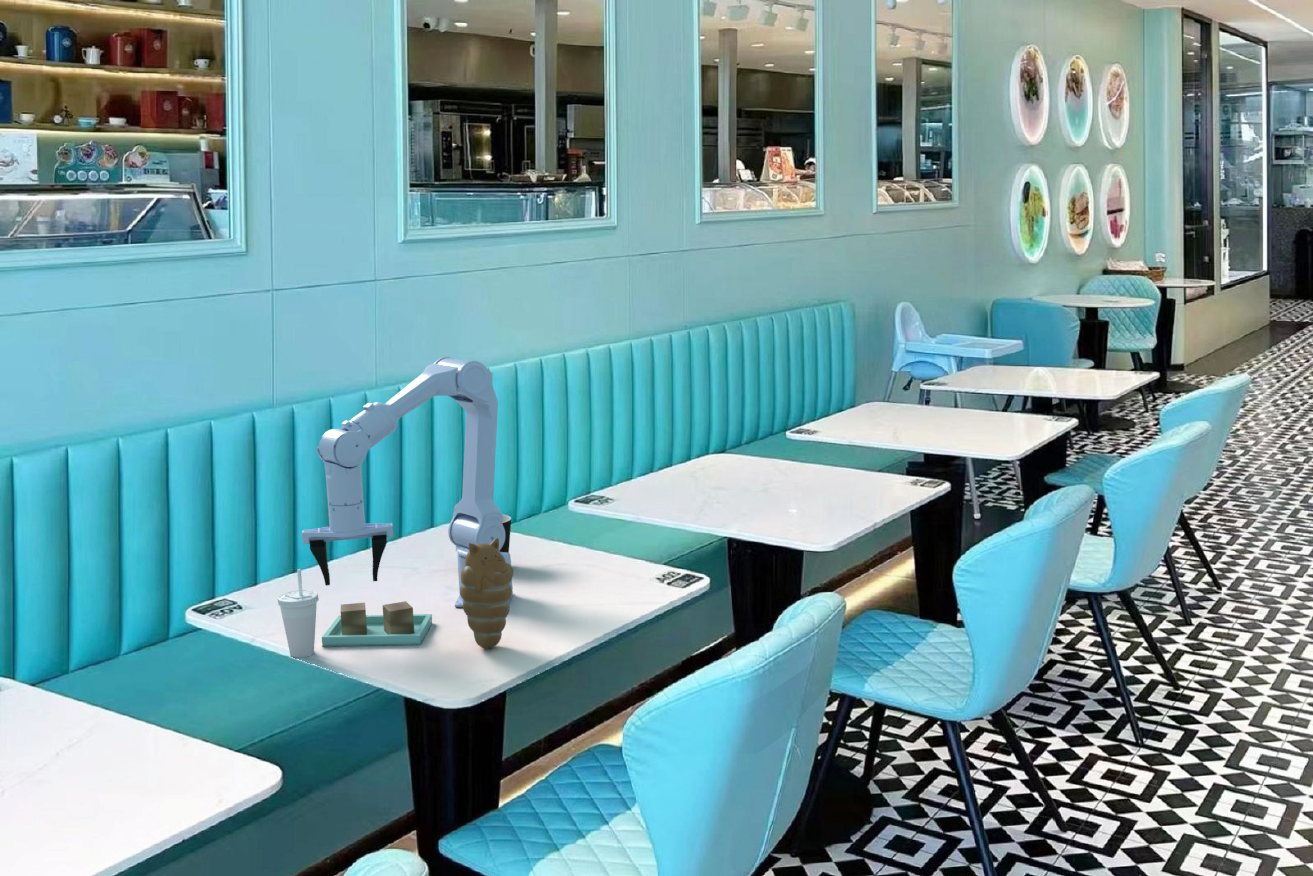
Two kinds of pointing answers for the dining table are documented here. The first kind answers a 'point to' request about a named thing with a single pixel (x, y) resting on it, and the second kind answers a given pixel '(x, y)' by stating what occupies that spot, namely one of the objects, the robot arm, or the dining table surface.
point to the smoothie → (299, 619)
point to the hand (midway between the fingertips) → (351, 581)
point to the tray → (377, 633)
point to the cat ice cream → (486, 592)
